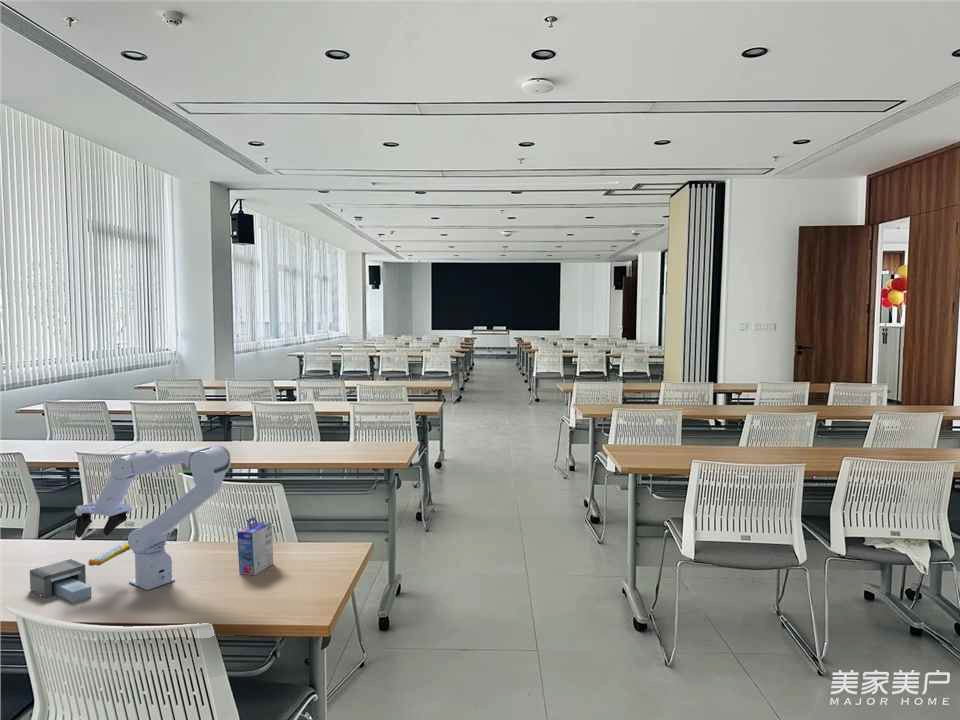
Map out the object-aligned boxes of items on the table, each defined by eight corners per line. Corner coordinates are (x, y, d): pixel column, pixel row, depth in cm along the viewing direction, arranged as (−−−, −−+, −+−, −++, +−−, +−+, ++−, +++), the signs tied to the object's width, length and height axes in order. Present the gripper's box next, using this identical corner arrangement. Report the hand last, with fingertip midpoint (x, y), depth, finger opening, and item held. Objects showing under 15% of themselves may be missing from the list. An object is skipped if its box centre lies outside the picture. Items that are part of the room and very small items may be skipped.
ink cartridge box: (257, 562, 192) (257, 513, 191) (274, 563, 191) (273, 514, 190) (237, 574, 182) (236, 523, 182) (254, 576, 181) (253, 524, 180)
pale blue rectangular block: (91, 598, 167) (91, 586, 167) (72, 604, 163) (72, 592, 163) (64, 584, 176) (64, 574, 176) (46, 590, 172) (45, 579, 172)
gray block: (86, 585, 174) (86, 565, 174) (45, 598, 166) (44, 577, 166) (71, 578, 179) (70, 559, 179) (30, 590, 171) (29, 570, 170)
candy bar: (99, 566, 189) (99, 560, 189) (86, 566, 190) (85, 560, 190) (135, 547, 206) (135, 541, 206) (123, 547, 206) (123, 541, 206)
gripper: (132, 485, 186) (111, 523, 188) (80, 485, 174) (58, 526, 176) (142, 500, 183) (121, 539, 184) (90, 501, 170) (68, 543, 172)
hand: (91, 534), depth 180 cm, fingers open, 7 cm apart
